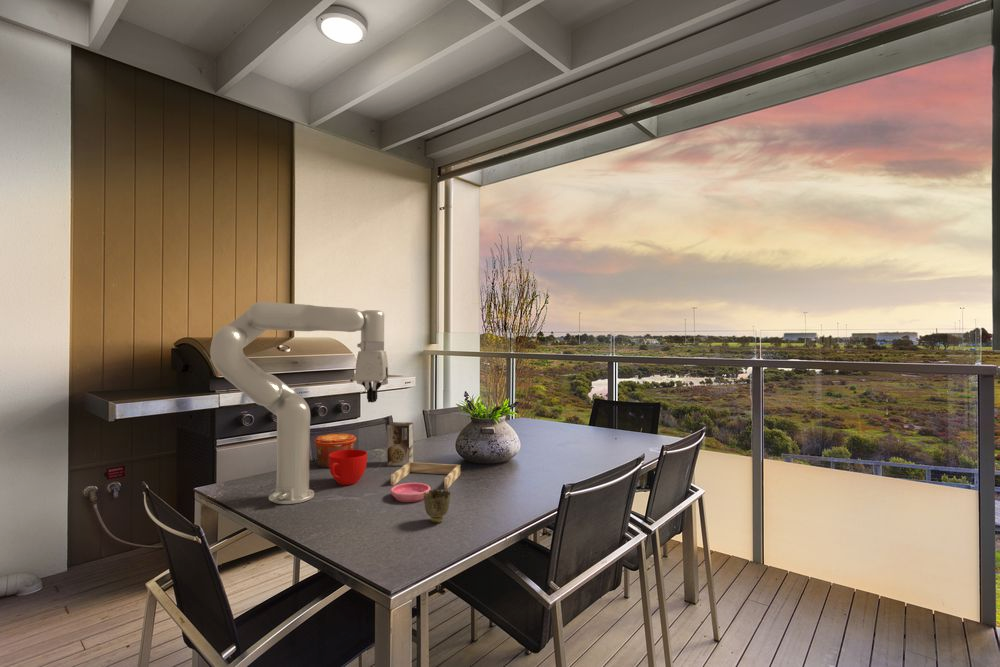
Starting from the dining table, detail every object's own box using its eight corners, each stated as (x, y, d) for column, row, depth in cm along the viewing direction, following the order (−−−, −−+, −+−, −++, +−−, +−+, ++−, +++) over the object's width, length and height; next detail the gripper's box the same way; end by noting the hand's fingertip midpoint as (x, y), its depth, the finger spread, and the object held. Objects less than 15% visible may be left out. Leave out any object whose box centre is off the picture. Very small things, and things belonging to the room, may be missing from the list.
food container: (346, 457, 213) (346, 431, 213) (362, 465, 200) (363, 437, 200) (307, 463, 203) (308, 436, 203) (322, 471, 190) (322, 443, 190)
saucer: (383, 497, 163) (383, 487, 163) (416, 489, 171) (416, 479, 171) (403, 507, 154) (404, 496, 154) (437, 498, 162) (438, 488, 162)
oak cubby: (447, 489, 171) (447, 478, 171) (390, 485, 174) (390, 475, 174) (460, 474, 189) (460, 464, 189) (408, 471, 192) (408, 461, 192)
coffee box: (413, 462, 205) (414, 422, 205) (409, 466, 199) (409, 425, 199) (391, 461, 206) (392, 421, 206) (386, 465, 200) (386, 424, 200)
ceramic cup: (313, 489, 169) (314, 459, 169) (341, 475, 185) (341, 448, 185) (349, 493, 166) (349, 462, 166) (373, 478, 182) (374, 450, 182)
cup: (437, 514, 147) (437, 486, 147) (455, 520, 143) (455, 492, 142) (417, 521, 141) (418, 493, 141) (436, 528, 137) (436, 498, 137)
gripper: (346, 347, 168) (346, 402, 168) (389, 347, 166) (388, 404, 166) (356, 346, 175) (356, 399, 176) (397, 347, 173) (397, 401, 173)
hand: (372, 401), depth 171 cm, fingers closed
